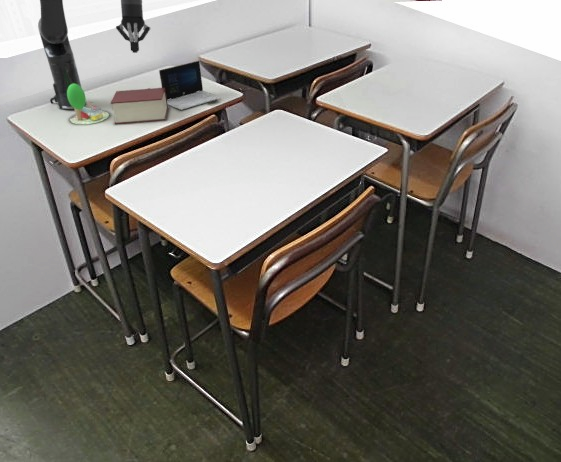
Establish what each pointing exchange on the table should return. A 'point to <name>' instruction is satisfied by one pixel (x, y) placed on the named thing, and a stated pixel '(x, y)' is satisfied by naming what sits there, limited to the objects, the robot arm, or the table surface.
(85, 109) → the train set
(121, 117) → the thick red book
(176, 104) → the laptop
